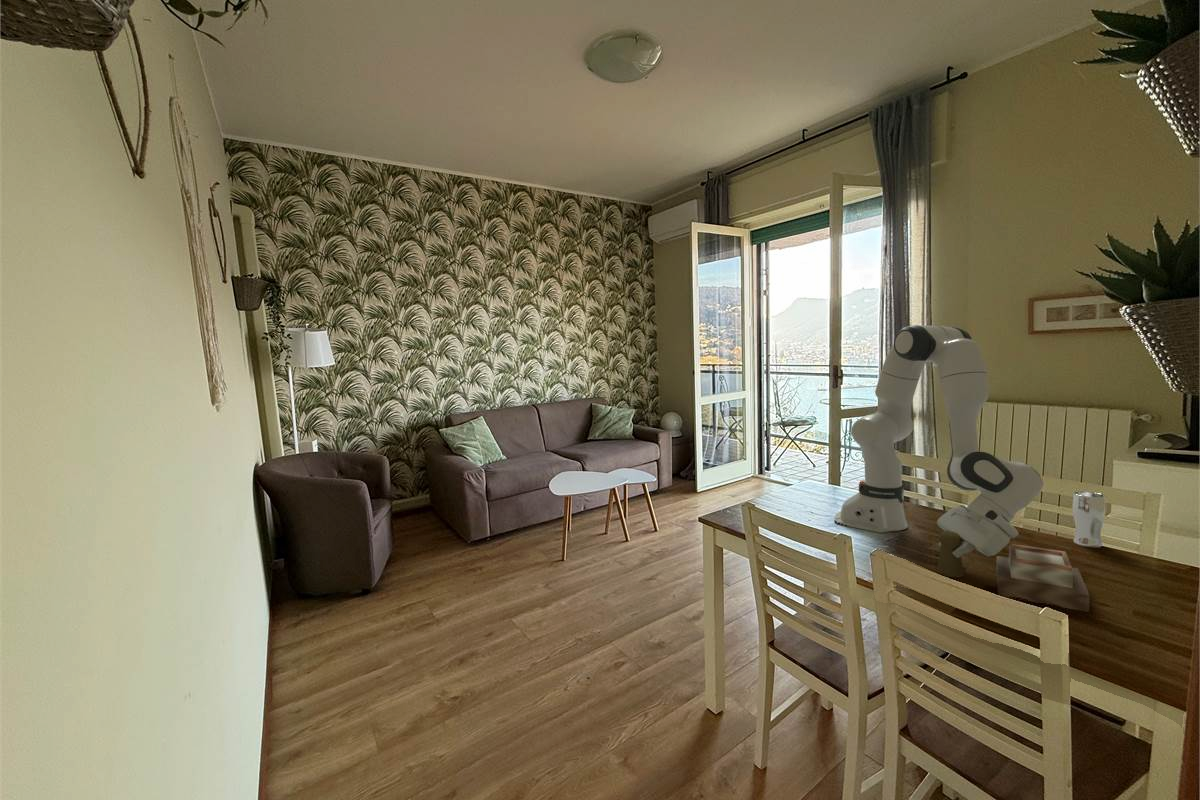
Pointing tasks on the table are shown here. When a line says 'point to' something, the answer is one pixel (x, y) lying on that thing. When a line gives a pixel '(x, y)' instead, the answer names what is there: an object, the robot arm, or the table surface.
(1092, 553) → the table surface
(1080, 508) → the beer glass
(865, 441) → the robot arm
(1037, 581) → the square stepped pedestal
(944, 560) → the cork
